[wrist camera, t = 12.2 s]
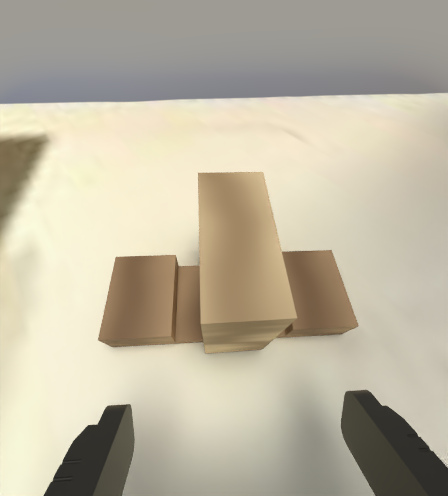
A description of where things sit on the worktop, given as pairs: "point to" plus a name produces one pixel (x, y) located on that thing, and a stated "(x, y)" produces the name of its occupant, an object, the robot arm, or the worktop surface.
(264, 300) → the oak crosspiece
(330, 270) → the notched beam
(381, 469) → the robot arm
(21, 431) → the worktop surface
